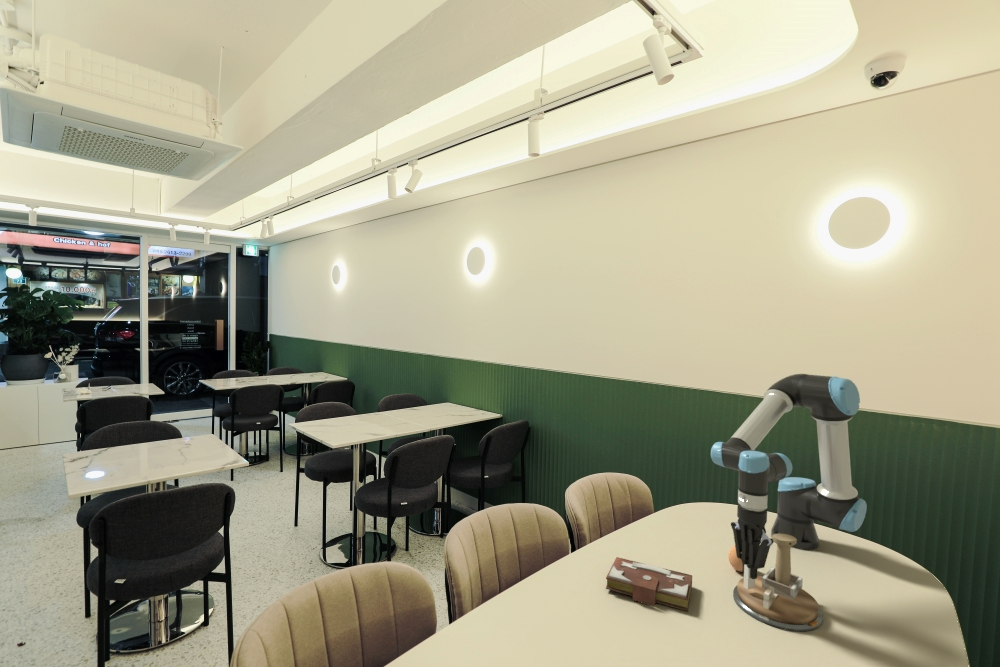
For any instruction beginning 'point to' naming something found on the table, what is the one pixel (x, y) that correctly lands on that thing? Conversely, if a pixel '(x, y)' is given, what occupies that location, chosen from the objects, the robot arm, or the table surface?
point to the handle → (783, 557)
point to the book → (650, 583)
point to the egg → (735, 560)
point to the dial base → (777, 624)
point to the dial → (779, 599)
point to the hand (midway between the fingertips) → (749, 587)
